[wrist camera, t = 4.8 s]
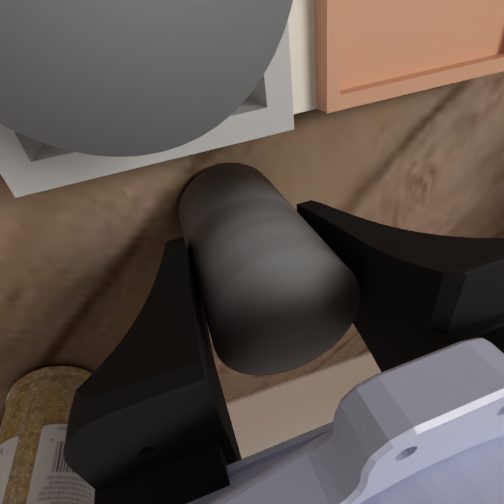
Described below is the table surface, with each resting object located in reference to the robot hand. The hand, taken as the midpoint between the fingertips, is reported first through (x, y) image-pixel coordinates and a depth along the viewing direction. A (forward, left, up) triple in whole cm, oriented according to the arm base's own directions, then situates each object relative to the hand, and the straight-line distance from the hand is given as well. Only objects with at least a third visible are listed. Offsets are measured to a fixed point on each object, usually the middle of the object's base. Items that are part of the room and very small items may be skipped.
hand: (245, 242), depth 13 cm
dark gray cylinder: (0, 0, -3) cm, 3 cm away
